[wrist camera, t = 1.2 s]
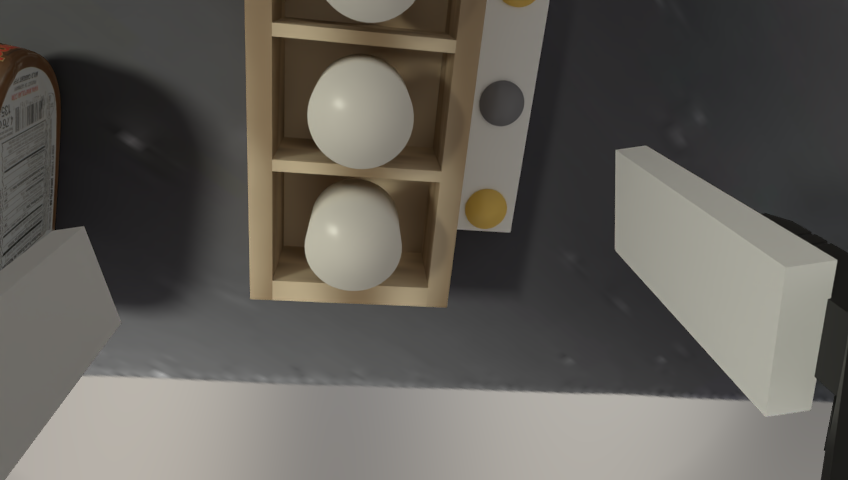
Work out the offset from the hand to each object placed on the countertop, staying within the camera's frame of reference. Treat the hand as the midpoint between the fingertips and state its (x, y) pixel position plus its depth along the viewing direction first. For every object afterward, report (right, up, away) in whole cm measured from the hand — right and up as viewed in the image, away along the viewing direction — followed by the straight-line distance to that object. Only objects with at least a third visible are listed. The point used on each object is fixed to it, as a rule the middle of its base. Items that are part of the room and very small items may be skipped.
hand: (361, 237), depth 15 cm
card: (+6, +8, +20) cm, 22 cm away
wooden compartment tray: (-2, +8, +19) cm, 21 cm away
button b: (-2, +7, +16) cm, 17 cm away
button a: (-2, +1, +18) cm, 18 cm away
